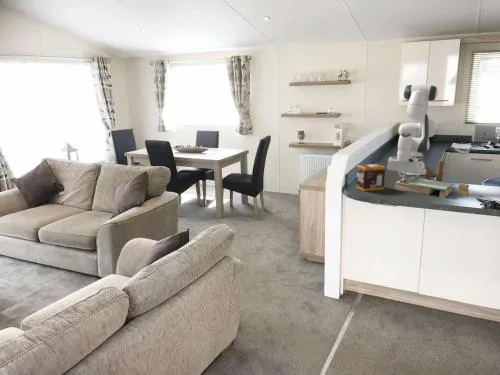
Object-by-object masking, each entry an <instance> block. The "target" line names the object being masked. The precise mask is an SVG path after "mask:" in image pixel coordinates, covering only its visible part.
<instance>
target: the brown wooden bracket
mask: <svg viewBox="0 0 500 375" xmlns="http://www.w3.org/2000/svg"><path fill="white" fill-rule="evenodd" d="M437 163H438V164H437V172H435V171H434V170H433V169H432V168H431V167H430V166H429V165H428V164H426V169H425V170H426V174H425V175H424V176H425V178H424V179H426V180H432V181H439V182H443V177H444V169H445V160H444V159H439V160H438V162H437ZM432 177H436V179H432Z"/></svg>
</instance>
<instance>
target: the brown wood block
mask: <svg viewBox="0 0 500 375" xmlns="http://www.w3.org/2000/svg"><path fill="white" fill-rule="evenodd" d="M469 187H470V184H467V183H459V184H458V188H457V193H456V194H457V195H458V196H463V197H467V196H468V195H469Z"/></svg>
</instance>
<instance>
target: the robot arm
mask: <svg viewBox="0 0 500 375" xmlns="http://www.w3.org/2000/svg"><path fill="white" fill-rule="evenodd" d="M438 93H439V90H438V88H437V86H436V85H428V84H409V85H406V86H405V87H404V89H403V98H404V99H405V100H406V101H408V103H407V108H406V115H407V116H408V118H409V119H411V120H412V121H414V122H406V123H405V122H404V123H401V124H400V125H399V127H398V134H399V138H398V142H397V153H396V156H389V157H388V159H387V160H388V163H387V166H386V167H387V168H386V169H387V170H388V171H394V172H397V173H398V175H399V178H400V179H404V178H405V177H406V175H409V176H415V175H417V174H419V175H420V176H426V169H425V164H426V163H424V161H423V158H424V154H425V153H427V152H428V151H429V149H430V138H432V137H433V136H434V135H435V133H436V132H437V131H436V126H435V125H434V123H432V122H431V121H430V120H429V115H428V112H429V111H428V110H429V102H431V101H432V102H433V101H435V100H436V98H437V96H438ZM402 173H403V174H402Z"/></svg>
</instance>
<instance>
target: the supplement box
mask: <svg viewBox="0 0 500 375" xmlns="http://www.w3.org/2000/svg"><path fill="white" fill-rule="evenodd" d="M355 175H356V177H355V179H356V180H355V188H356V189H358V190H361V191H363V192H368V191H381V190H384V188H385V176H386V166H383V165H381V164H378V163H371V164H370V163H369V164H357V165H356V174H355Z"/></svg>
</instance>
